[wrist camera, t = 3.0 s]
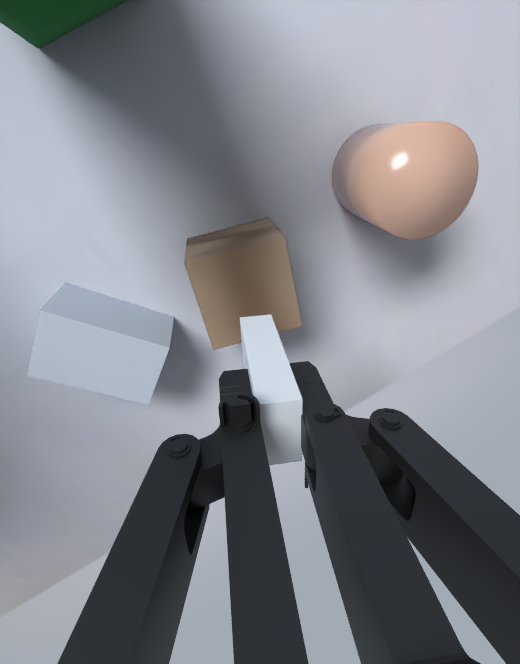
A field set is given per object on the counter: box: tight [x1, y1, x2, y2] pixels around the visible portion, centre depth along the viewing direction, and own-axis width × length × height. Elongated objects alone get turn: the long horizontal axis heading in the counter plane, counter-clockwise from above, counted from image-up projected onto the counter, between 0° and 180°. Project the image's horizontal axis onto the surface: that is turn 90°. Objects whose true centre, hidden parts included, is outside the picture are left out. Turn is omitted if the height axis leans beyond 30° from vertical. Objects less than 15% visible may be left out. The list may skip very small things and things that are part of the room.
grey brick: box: [26, 283, 174, 405], centre depth 27 cm, size 8×5×5 cm, turn 66°
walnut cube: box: [185, 218, 302, 350], centre depth 26 cm, size 6×6×6 cm
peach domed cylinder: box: [332, 121, 478, 240], centre depth 23 cm, size 6×6×7 cm
